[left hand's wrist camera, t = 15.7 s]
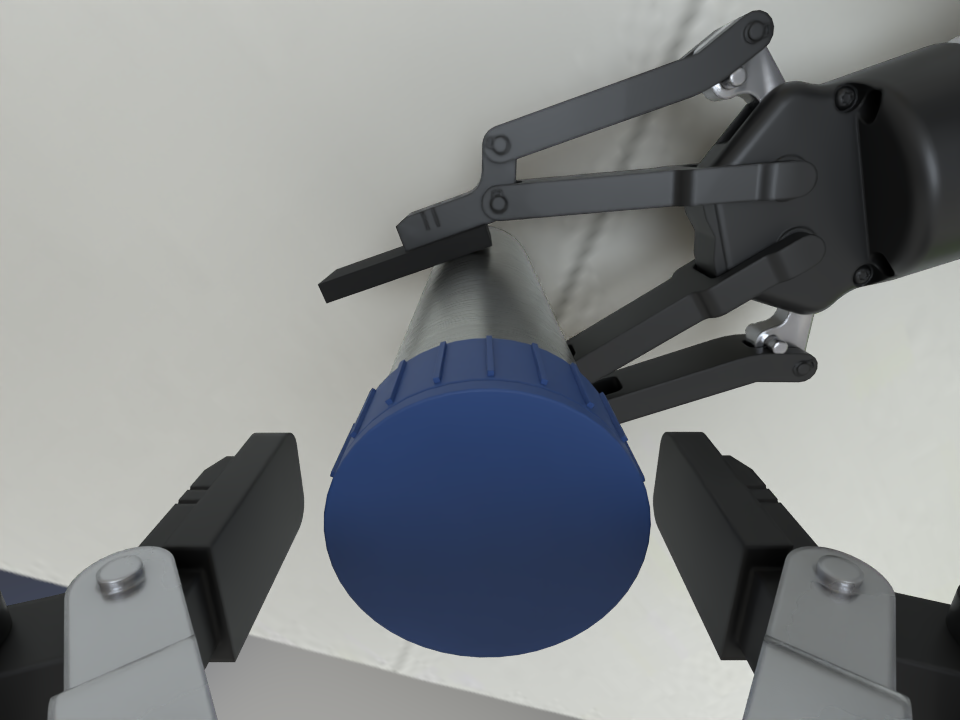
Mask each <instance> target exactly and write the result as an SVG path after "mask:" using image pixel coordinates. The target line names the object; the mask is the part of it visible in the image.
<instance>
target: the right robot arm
mask: <svg viewBox="0 0 960 720" xmlns="http://www.w3.org/2000/svg"><path fill="white" fill-rule="evenodd" d="M773 31H774V25H773V21H772V18H771V17H770V16H769V15H768V13H766V12H764V11H761V10H757V11H752V12H750V13H748V14H746V15H744V16H742V17H739V18H738V19H736V20H734V21H732V22H730V23H728V24H726V25H724V26H722V27H721V28H719V29H717V30H715V31H714V32H712V33H711V34H710V35H709V36H708V37H706V38H705V39H704V40H703V41H701V42H700V43H699V44H698V45H697V46H695V47H694V48H693V49H692V50H690V51H689V52H688V53H687V54H685V55H684V56H683V57H682V58H681V59H679V60H677V61H674V62H672V63H669V64H666V65H663V66H661V67H658V68H655V69H652V70H650V71H647V72H644V73H641V74H639V75H636V76H633V77H630V78H628V79H625V80H622V81H619V82H617V83H614V84H611V85H608V86H606V87H603V88H600V89H597V90H594V91H592V92H589V93H586V94H583V95H581V96H578V97H575V98H572V99H570V100H567V101H564V102H561V103H559V104H556V105H553V106H550V107H548V108H545V109H542V110H539V111H537V112H534V113H531V114H528V115H526V116H523V117H520V118H517V119H515V120H512V121H509V122H506V123H504V124H501V125H498V126H495V127H493V128H492V129H490V130H489V131H488V132H487V133H486V135H485V136H484V139H483V144H482V174H481V179H480V181H479V183H478V185H477V186H476V187H475V188H474V189H473V190H471V191H469V192H467V193H464V194H461V195H459V196H456V197H453V198H450V199H448V200H445V201H442V202H439V203H436V204H434V205H431V206H428V207H426V208H423V209H420V210H417V211H414V212H412V213H410V214H409V215H408V216H407V217H406V218H405V219H404V220H402V221H401V222H400V223H399V224H398V225H397V226H396V228H397V231H398V233H399V236H400V239H401V241H402V244H403V246H402V247H399V248H396V249H393V250H390V251H387V252H385V253H382V254H379V255H376V256H373V257H371V258H368V259H365V260H362V261H359V262H356V263H354V264H351V265H348V266H345V267H342V268H339V269H337V270H335V271H334V272H333V273H332V274H330V275H329V276H328V277H327V278H325V279H324V280H323V281H322V282H321V283H319V284H318V286H319V288H320V290H321V292H322V294H323V297H324V299H325V301H326V303H329V302H332V301H335V300H338V299H341V298H343V297H346V296H349V295H352V294H355V293H358V292H361V291H364V290H366V289H369V288H372V287H375V286H378V285H381V284H384V283H387V282H390V281H392V280H395V279H398V278H401V277H404V276H407V275H410V274H413V273H416V272H418V271H421V270H424V269H427V268H430V267H433V266H436V265H439V264H442V263H444V262H447V261H450V260H453V259H456V258H459V257H461V256H464V255H468V254H470V253H473V252H476V251H479V250H482V249H485V248H488V247H491V246H492V239H491V234H490V231H489V228H488V225H487V224H489V223H492V222H495V221H506V220H518V219H529V218H541V217H553V216H564V215H576V214H588V213H600V212H611V211H623V210H635V209H646V208H658V207H670V206H685V211H686V214H687V216H688V218H689V220H690V222H691V224H692V226H693V228H694V230H695V241H694V255H695V259H694V260H693V261H691V262H689V263H688V264H686V265H684V266H683V267H681V268H679V269H678V270H677V271H675V272H674V274H673V276H672V277H671V278H670V279H669V280H668V281H666V282H664V283H663V284H661V285H659V286H658V287H656V288H654V289H653V290H651V291H649V292H648V293H646V294H644V295H642V296H641V297H639V298H637V299H636V300H634V301H632V302H631V303H629V304H627V305H626V306H624V307H622V308H621V309H619V310H617V311H616V312H614V313H612V314H611V315H609V316H607V317H606V318H604V319H602V320H601V321H599V322H597V323H596V324H594V325H592V326H591V327H589V328H587V329H586V330H584V331H582V332H581V333H579V334H577V335H576V336H574V337H572V338H571V339H569V340H567V341H566V342H567V345H568V347H569V349H570V351H571V353H572V356H573V358H574V360H575V362H576V365H577V367H578V369H579V371H580V373H581V374H582V375H583V376H584V377H585V378H586V379H588V380H589V381H590V383H591V384H592V385H593V387H594V388H595V389H596V390H597V392H598V393H599V394H600V393H601V392H603V393H604V394H605V396H606V398H607V400H608V402H609V404H610V406H611V408H612V410H613V412H614V414H615V415H616V417H617V419H618V421H619V423H620V424H621V423H624V422H627V421H630V420H634V419H637V418H640V417H643V416H647V415H650V414H653V413H657V412H660V411H663V410H666V409H670V408H673V407H676V406H679V405H683V404H686V403H689V402H692V401H696V400H699V399H702V398H706V397H709V396H712V395H715V394H719V393H722V392H725V391H728V390H732V389H735V388H738V387H741V386H745V385H748V384H751V383H755V382H803V381H806V380H808V379H810V378H811V377H812V376H813V375H814V374H815V372H816V370H817V364H818V363H817V361H816V358H815V357H813V356H812V355H810V354H809V353H807V352H806V346H807V342H808V338H809V334H810V329H811V325H812V321H813V317H814V314H816V313H819V312H821V311H823V310H825V309H827V308H828V307H830V306H831V305H832V304H833V303H834V302H836V301H837V300H838V299H839V298H840V297H842V296H843V295H845V294H846V293H848V292H849V291H851V290H853V289H856V288H859V287H863V286H867V285H872V284H877V283H882V282H886V281H890V280H894V279H897V278H900V277H904V276H907V275H910V274H913V273H916V272H919V271H923V270H926V269H929V268H932V267H935V266H939V265H942V264H945V263H948V262H952V261H955V260H958V259H960V36H957V37H955V38H953V39H951V40H950V41H948V42H947V43H939V44H933V45H930V46H927V47H924V48H921V49H918V50H916V51H913V52H910V53H907V54H904V55H902V56H899V57H896V58H893V59H890V60H888V61H885V62H882V63H879V64H876V65H874V66H871V67H868V68H865V69H862V70H860V71H857V72H854V73H851V74H848V75H846V76H843V77H840V78H837V79H834V80H832V81H829V82H826V83H823V84H810V83H806V82H801V81H791V82H785V80H784V78H783V76H782V75H781V73H780V71H779V69H778V67H777V65H776V63H775V61H774V60H773V58H772V56H771V54H770V52H769V50H768V48H767V45H768V44H769V43H770V40H771V38H772V36H773ZM700 93H703V95H704V96H705V97H706V98H707V99H709V100H711V101H721V100H725V99H730V98H733V97H735V96H738V97H741V98H742V99H744V100H745V101H746V103H747V104H746V106H745V107H744V108H743V109H742V111H741V112H740V113H739V114H738V116H737V117H736V118H735V119H734V121H733V122H732V123H731V124H730V126H729V127H728V128H727V129H726V131H725V132H724V133H723V134H722V136H721V137H720V138H719V139H718V141H717V142H716V143H715V144H714V146H713V147H712V148H711V150H710V151H709V152H708V153H707V155H706V156H705V157H704V158H703V160H702V161H701V162H700V163H699V164H687V165H676V166H665V167H657V168H650V169H638V170H627V171H615V172H604V173H593V174H581V175H570V176H558V177H547V178H536V179H524V180H516V160H517V159H518V158H521V157H524V156H526V155H529V154H532V153H535V152H538V151H541V150H543V149H546V148H549V147H552V146H555V145H558V144H560V143H563V142H566V141H569V140H572V139H575V138H577V137H580V136H583V135H586V134H589V133H592V132H594V131H597V130H600V129H603V128H606V127H608V126H611V125H614V124H617V123H620V122H623V121H625V120H628V119H631V118H634V117H637V116H640V115H642V114H645V113H648V112H651V111H654V110H657V109H659V108H662V107H665V106H668V105H671V104H673V103H676V102H679V101H682V100H685V99H688V98H690V97H693V96H695V95H698V94H700ZM749 300H754V301H757V302H760V303H764V304H767V305H770V306H773V307H776V308H777V310H776V312H775V313H774V315H773V316H772V317H771V318H769V319H767V320H765V321H761V322H757V323H752V324H750V325H748V326H747V327H746V330H745V332H746V334H738V335H730V336H724V337H721V338H717V339H713V340H710V341H707V342H704V343H701V344H697V345H694V346H691V347H688V348H685V349H682V350H679V351H675V352H672V353H669V354H666V355H663V356H660V357H657V358H654V359H650V360H647V361H644V362H641V363H638V364H635V365H632V366H628V367H625V368H622V369H619V368H620V367H622V366H624V365H626V364H627V363H629V362H631V361H633V360H634V359H636V358H638V357H640V356H641V355H643V354H645V353H647V352H648V351H650V350H652V349H654V348H655V347H657V346H659V345H661V344H662V343H664V342H666V341H667V340H669V339H671V338H673V337H674V336H676V335H678V334H680V333H681V332H683V331H685V330H687V329H688V328H690V327H692V326H694V325H695V324H697V323H699V322H701V321H702V320H704V319H707V318H716V317H720V316H722V315H724V314H727V313H728V312H730V311H732V310H733V309H735V308H737V307H739V306H740V305H742V304H744V303H746V302H747V301H749ZM617 369H619V370H617ZM615 370H616V371H615Z"/></svg>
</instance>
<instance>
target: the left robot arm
mask: <svg viewBox="0 0 960 720" xmlns="http://www.w3.org/2000/svg"><path fill="white" fill-rule="evenodd" d="M653 509H654V516H655V520H656V524H657V526H658V528H659V531H660V533H661V535H662V537H663V539H664V541H665V543H666V545H667V547H668V550H669V552H670V554H671V556H672V558H673V560H674V562H675V564H676V566H677V569H678V571H679V573H680V575H681V577H682V579H683V581H684V583H685V585H686V588H687V590H688V592H689V594H690V596H691V598H692V600H693V602H694V604H695V607H696V609H697V611H698V613H699V615H700V617H701V619H702V621H703V623H704V626H705V628H706V630H707V632H708V634H709V636H710V638H711V640H712V642H713V645H714V647H715V649H716V651H717V653H718V655H719V657H720V659H721V660H747V661H748V663H749V665H750V667H751V669H752V671H753V673H754V678H753V682H752V685H751V689H750V693H749V697H748V700H747V704H746V708H745V712H744V715H743V719H742V720H960V585H959V587H958V589H957V591H956V594H955V596H954V599H953V601H952V604H951V605H950V604H945V603H941V602H936V601H932V600H927V599H923V598H918V597H913V596H909V595H904V594H900V593H895V592H894V590H893V588H892V586H891V585H890V584H889V582H888V581H887V580H886V579H885V578H884V577H883V576H882V575H881V574H880V573H879V572H878V571H877V570H875V569H874V568H873V567H871V566H870V565H868V564H867V563H865V562H863V561H861V560H860V559H858V558H855V557H853V556H851V555H849V554H846V553H844V552H841V551H837V550H834V549H830V548H825V547H818V546H817V544H816V543H815V542H814V541H813V540H812V539H811V537H810V536H809V535H808V534H807V533H806V532H805V530H804V529H803V528H802V527H801V526H800V525H799V523H798V522H797V521H796V520H795V519H794V518H793V516H792V515H791V514H790V513H789V512H788V511H787V509H786V508H785V507H784V506H783V505H782V504H781V503H778V499H777V498H776V497H775V495H774V494H773V493H772V492H771V491H770V490H769V489H766V485H765V484H764V483H763V481H762V480H761V479H760V478H759V477H758V476H757V474H756V473H755V472H754V471H753V470H752V469H751V468H749V467H748V466H746V465H744V464H743V463H741V462H740V461H738V460H736V459H735V458H733V457H732V456H730V455H721V454H720V452H719V451H718V450H717V448H716V447H715V446H714V445H713V443H712V442H711V441H710V440H709V438H708V437H707V436H706V435H705V434H704V433H703V432H665V433H664V434H663V436H662V439H661V443H660V450H659V457H658V465H657V472H656V480H655V487H654V495H653ZM303 512H304V493H303V486H302V479H301V472H300V464H299V457H298V450H297V443H296V439H295V437H294V435H293V434H292V433H254V434H252V435H251V437H250V438H249V439H248V440H247V442H246V443H245V444H244V445H243V446H242V448H241V449H240V450H239V451H238V453H237V454H236V455H235V456H226V457H225V458H223V459H222V460H220V461H219V462H217V463H215V464H214V465H212V466H211V467H209V468H207V469H206V470H204V471H203V473H202V474H201V475H200V476H199V477H198V478H197V479H196V481H195V482H194V483H193V484H192V485H191V486H190V490H187V491H186V492H185V493H184V494H183V496H182V497H181V498H180V499H179V502H178V504H175V505H174V506H173V507H172V508H171V510H170V511H169V512H168V513H167V514H166V515H165V516H164V518H163V519H162V520H161V521H160V522H159V523H158V525H157V526H156V527H155V528H154V529H153V530H152V531H151V533H150V534H149V535H148V536H147V537H146V538H145V540H144V541H143V542H142V543H141V544H140V545H139V547H135V548H130V549H126V550H123V551H119V552H116V553H114V554H111V555H109V556H107V557H105V558H102V559H100V560H99V561H97V562H95V563H93V564H92V565H90V566H89V567H87V568H86V569H85V570H83V571H82V572H81V573H80V574H79V575H78V576H77V577H76V578H75V579H74V580H73V581H72V582H71V584H70V585H69V586H68V588H67V590H66V593H63V594H59V595H55V596H50V597H45V598H41V599H37V600H32V601H27V602H23V603H18V604H14V605H9V606H6V604H5V601H4V599H3V596H2V594H1V591H0V720H218V719H217V715H216V712H215V708H214V704H213V700H212V697H211V693H210V689H209V685H208V682H207V678H206V674H205V668H206V666H207V664H208V663H209V662H235V661H236V659H237V657H238V655H239V653H240V650H241V648H242V647H243V644H244V642H245V640H246V638H247V636H248V634H249V632H250V630H251V628H252V626H253V624H254V622H255V619H256V617H257V615H258V613H259V611H260V609H261V607H262V605H263V603H264V601H265V599H266V597H267V594H268V592H269V590H270V588H271V586H272V584H273V582H274V580H275V578H276V576H277V574H278V572H279V569H280V567H281V565H282V563H283V561H284V559H285V557H286V555H287V553H288V551H289V549H290V547H291V544H292V542H293V540H294V538H295V536H296V534H297V532H298V530H299V528H300V525H301V522H302V518H303Z"/></svg>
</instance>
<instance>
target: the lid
mask: <svg viewBox="0 0 960 720" xmlns="http://www.w3.org/2000/svg"><path fill="white" fill-rule="evenodd" d="M627 440H628V439H627V437H626V435H625V433H624V431H623V429H622V427H621V425H620V423H619V421H618V419H617V417H616V415H615V414H614V412H613V410H612V408H611V406H610V404H609V402H608V400H607V398H606V396H605V394H604V393H603V392H601V393H600V394H599V393H598V392H597V390H596V389H595V388H594V387H593V385H592V384H591V383H590V381H589V380H588V379H586V378H585V377H584V376H583V375H582V374H581V373H580V371H579V369H578V367H577V365H576V364H575V363H573V362H572V363H571V365H570V364H569V363H567V362H566V361H564V360H563V359H561V358H559V357H558V356H556V355H554V354H552V353H550V352H548V351H546V350H543V349H541V348H539V347H538V344H536V343H532V344H531V345H530V344H526V343H522V342H517V341H513V340H506V339H496V338H492V336H486V338H474V339H467V340H460V341H454V342H451V343H446V341H444V342H440V346H437V347H434V348H432V349H429V350H427V351H425V352H422V353H420V354H418V355H417V356H415V357H413V358H412V359H410V360H408V361H405V360H402V361H401V362H400V363H399V366H398V368H397V369H396V370H395V371H393V372H392V373H391V374H390V375H389V376H388V377H387V378H386V379H385V380H384V381H383V382H382V383H381V384H380V385H379V387H378V388H377V389H376V390H375V389H373V388H372V389H371V391H370V392H369V394H368V397H367V399H366V401H365V403H364V405H363V407H362V410H361V412H360V414H359V416H358V418H357V421H356V423H354V424H353V426H352V428H351V430H350V433H349V435H348V437H347V439H346V441H345V443H344V445H343V448H342V450H341V452H340V454H339V456H338V458H337V461H336V463H335V465H334V467H333V469H332V471H331V475H330V476H331V477H333V479H332V482H331V485H330V488H329V491H328V494H327V499H326V505H325V511H324V534H325V541H326V547H327V551H328V554H329V557H330V561H331V564H332V567H333V569H334V571H335V573H336V575H337V577H338V579H339V581H340V582H341V584H342V585H343V587H344V588H345V590H346V591H347V593H348V594H349V596H350V597H351V598H352V599H353V600H354V601H355V603H356V604H357V605H358V606H359V607H360V608H361V609H362V610H363V611H364V612H365V613H366V614H367V615H369V616H370V617H371V618H372V619H373V620H374V621H376V622H377V623H378V624H380V625H381V626H383V627H384V628H386V629H387V630H389V631H390V632H392V633H394V634H396V635H398V636H400V637H401V638H403V639H405V640H407V641H410V642H412V643H415V644H417V645H420V646H422V647H425V648H429V649H432V650H436V651H439V652H443V653H448V654H454V655H459V656H470V657H504V656H513V655H520V654H525V653H530V652H534V651H538V650H541V649H544V648H548V647H551V646H554V645H556V644H559V643H561V642H563V641H566V640H568V639H570V638H572V637H574V636H576V635H578V634H579V633H581V632H583V631H585V630H586V629H588V628H589V627H591V626H592V625H594V624H595V623H596V622H598V621H599V620H600V619H602V618H603V617H604V616H605V615H606V614H607V613H608V612H609V611H611V610H612V609H613V608H614V607H615V606H616V605H617V604H618V602H619V601H620V600H621V599H622V598H623V596H624V595H625V594H626V593H627V592H628V590H629V588H630V587H631V585H632V584H633V582H634V580H635V579H636V577H637V575H638V573H639V571H640V568H641V566H642V564H643V562H644V559H645V555H646V551H647V548H648V544H649V536H650V527H651V520H650V505H649V501H648V496H647V491H646V488H645V485H644V483H643V482H644V481H645V478H644V475H643V473H642V471H641V469H640V467H639V465H638V463H637V461H636V459H635V457H634V455H633V453H632V451H631V449H630V447H629V446H628V444H627V442H626V441H627Z"/></svg>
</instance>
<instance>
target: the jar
mask: <svg viewBox="0 0 960 720" xmlns="http://www.w3.org/2000/svg"><path fill="white" fill-rule="evenodd" d="M488 228H489V231H490V234H491V239H492V246H491V247H488V248H485V249H482V250H479V251H476V252H473V253H470V254H468V255H464V256H461V257H459V258H456V259H453V260H450V261H447V262H444V263H442V264H439V265H436V266H434V267H433V269H432V271H431V274H430V276H429V279H428V281H427V284H426V286H425V289H424V291H423V293H422V296H421V298H420V301H419V303H418V306H417V308H416V311H415V313H414V316H413V318H412V320H411V323H410V325H409V328H408V330H407V333H406V335H405V338H404V340H403V343H402V345H401V347H400V350H399V352H398V355H397V357H396V360H395V362H394V365H393V367H392V369H391V372H390V374H391V373H392V372H393V371H395V370H396V369H397V368H398V366H399V363H400V362H401V361H402V360H405V361H408V360H410V359H412V358H413V357H415V356H417V355H418V354H420V353H422V352H425V351H427V350H429V349H432V348H434V347H437V346H440V342H444V341H446V343H451V342H454V341H460V340H467V339H474V338H486V336H492V338H496V339H506V340H513V341H517V342H522V343H526V344H530V345H531V344H532V343H536V344H538V347H539V348H541V349H543V350H546V351H548V352H550V353H552V354H554V355H556V356H558V357H559V358H561V359H563V360H564V361H566V362H567V363H569V364H570V365H571V363H572V362H573V363H575V364H576V362H575V360H574V358H573V356H572V353H571V351H570V349H569V347H568V345H567V342H566V340H565V338H564V336H563V334H562V331H561V329H560V327H559V325H558V322H557V320H556V318H555V316H554V314H553V311H552V309H551V307H550V305H549V303H548V300H547V298H546V296H545V294H544V291H543V289H542V287H541V285H540V283H539V280H538V278H537V276H536V274H535V272H534V269H533V267H532V265H531V263H530V260H529V258H528V256H527V254H526V252H525V250H524V248H523V247H522V246H521V244H520V243H519V242H518V241H517V240H516V239H515V238H514V237H513V236H511V235H510V234H508V233H507V232H505V231H503V230H501V229H498V228H494V227H489V226H488ZM390 374H389V375H390Z"/></svg>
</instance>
